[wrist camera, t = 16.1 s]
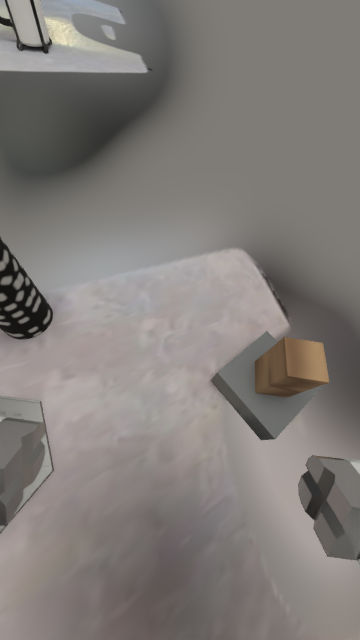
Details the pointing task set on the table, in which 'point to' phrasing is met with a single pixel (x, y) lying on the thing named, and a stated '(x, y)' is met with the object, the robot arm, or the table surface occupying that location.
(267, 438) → the block
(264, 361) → the oak block
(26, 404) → the grey hexagonal ring
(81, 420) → the table surface
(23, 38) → the coffee press
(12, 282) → the spotted tube
